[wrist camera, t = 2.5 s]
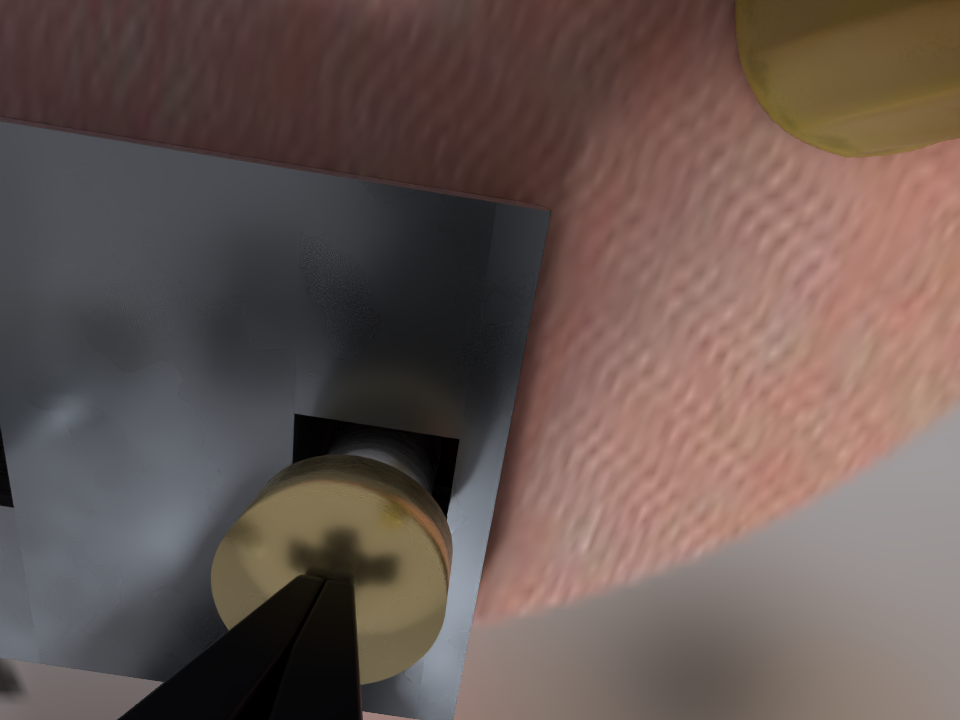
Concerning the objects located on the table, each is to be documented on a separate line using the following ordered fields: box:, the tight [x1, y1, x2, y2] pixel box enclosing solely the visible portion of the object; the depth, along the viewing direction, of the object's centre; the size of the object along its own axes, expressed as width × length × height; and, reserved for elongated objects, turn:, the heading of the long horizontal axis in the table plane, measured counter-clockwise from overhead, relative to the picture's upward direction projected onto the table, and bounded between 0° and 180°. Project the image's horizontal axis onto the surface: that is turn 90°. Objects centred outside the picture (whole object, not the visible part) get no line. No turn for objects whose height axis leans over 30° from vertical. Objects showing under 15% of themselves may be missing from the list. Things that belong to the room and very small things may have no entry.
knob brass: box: [211, 422, 453, 685], centre depth 10 cm, size 4×4×5 cm
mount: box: [0, 117, 551, 720], centre depth 12 cm, size 12×14×3 cm
